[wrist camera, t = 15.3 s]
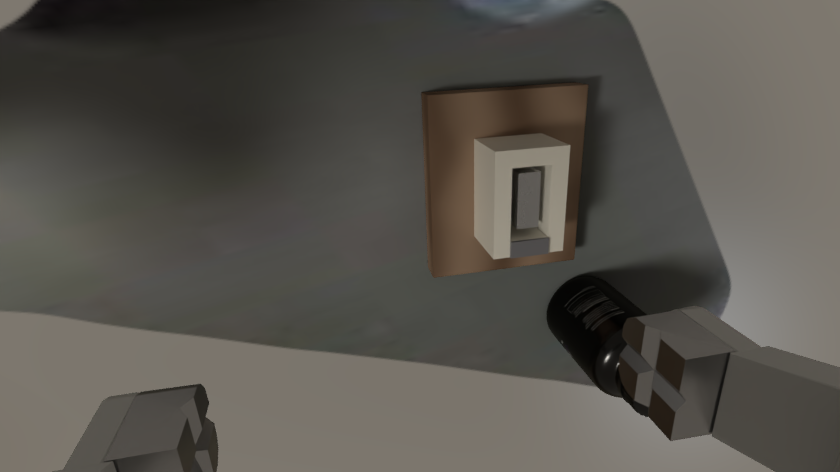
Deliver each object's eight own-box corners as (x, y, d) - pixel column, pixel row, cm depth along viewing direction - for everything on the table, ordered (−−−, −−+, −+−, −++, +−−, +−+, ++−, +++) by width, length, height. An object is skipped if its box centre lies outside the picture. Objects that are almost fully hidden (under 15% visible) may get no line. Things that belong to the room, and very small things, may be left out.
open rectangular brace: (474, 138, 36) (496, 152, 32) (541, 133, 37) (571, 145, 33) (474, 236, 39) (494, 260, 35) (536, 228, 40) (564, 251, 36)
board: (428, 267, 42) (433, 277, 40) (421, 92, 36) (427, 95, 35) (563, 250, 44) (574, 259, 42) (575, 82, 38) (588, 84, 37)
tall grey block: (497, 211, 39) (516, 229, 35) (498, 160, 37) (518, 173, 34) (516, 209, 39) (538, 226, 36) (518, 158, 38) (541, 171, 34)
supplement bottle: (539, 341, 47) (609, 434, 36) (549, 275, 44) (628, 353, 34) (605, 336, 48) (692, 424, 37) (619, 271, 46) (716, 345, 35)
